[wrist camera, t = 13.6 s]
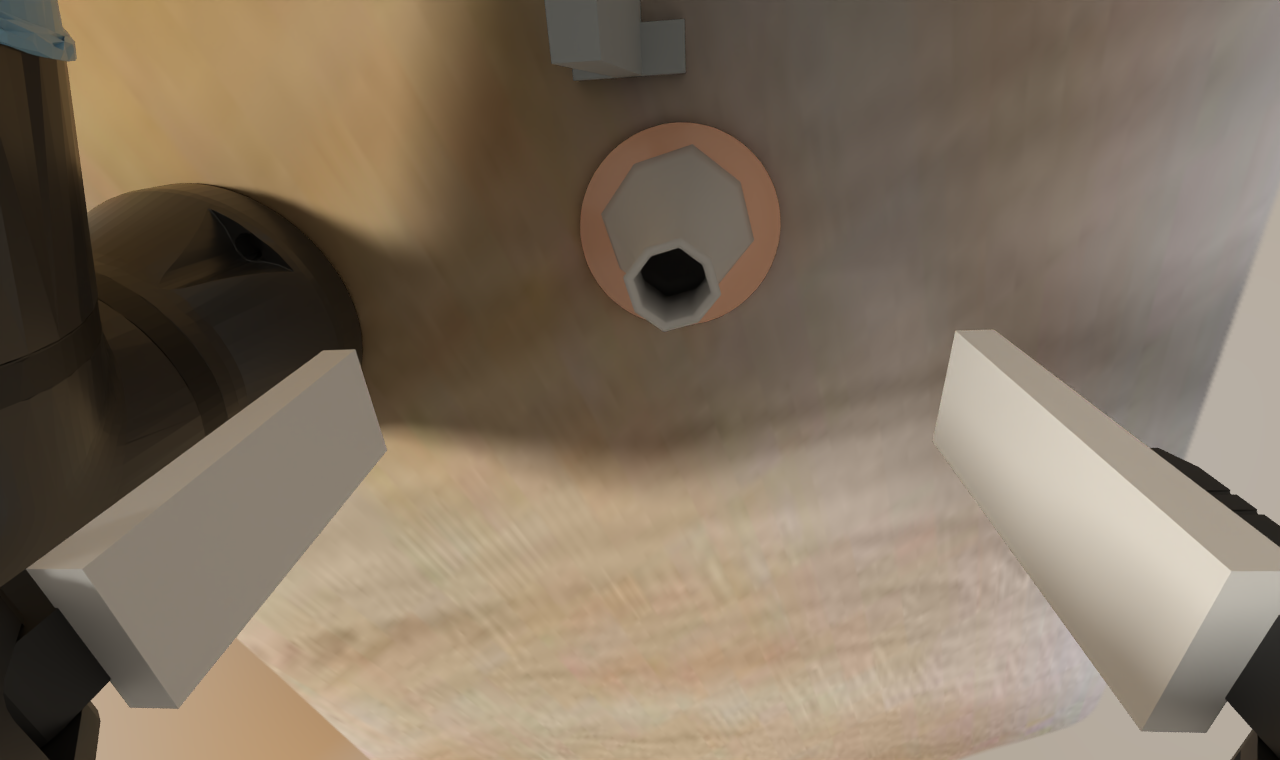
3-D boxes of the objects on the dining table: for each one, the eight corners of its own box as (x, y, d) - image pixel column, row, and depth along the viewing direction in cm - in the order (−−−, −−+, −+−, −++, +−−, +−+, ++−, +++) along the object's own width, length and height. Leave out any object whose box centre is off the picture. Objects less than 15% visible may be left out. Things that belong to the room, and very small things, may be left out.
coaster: (591, 324, 32) (590, 327, 31) (571, 128, 27) (569, 129, 27) (774, 319, 31) (775, 323, 30) (784, 115, 26) (786, 115, 26)
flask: (660, 320, 31) (648, 414, 22) (576, 208, 28) (524, 261, 19) (779, 242, 28) (820, 311, 19) (697, 113, 26) (701, 124, 17)
